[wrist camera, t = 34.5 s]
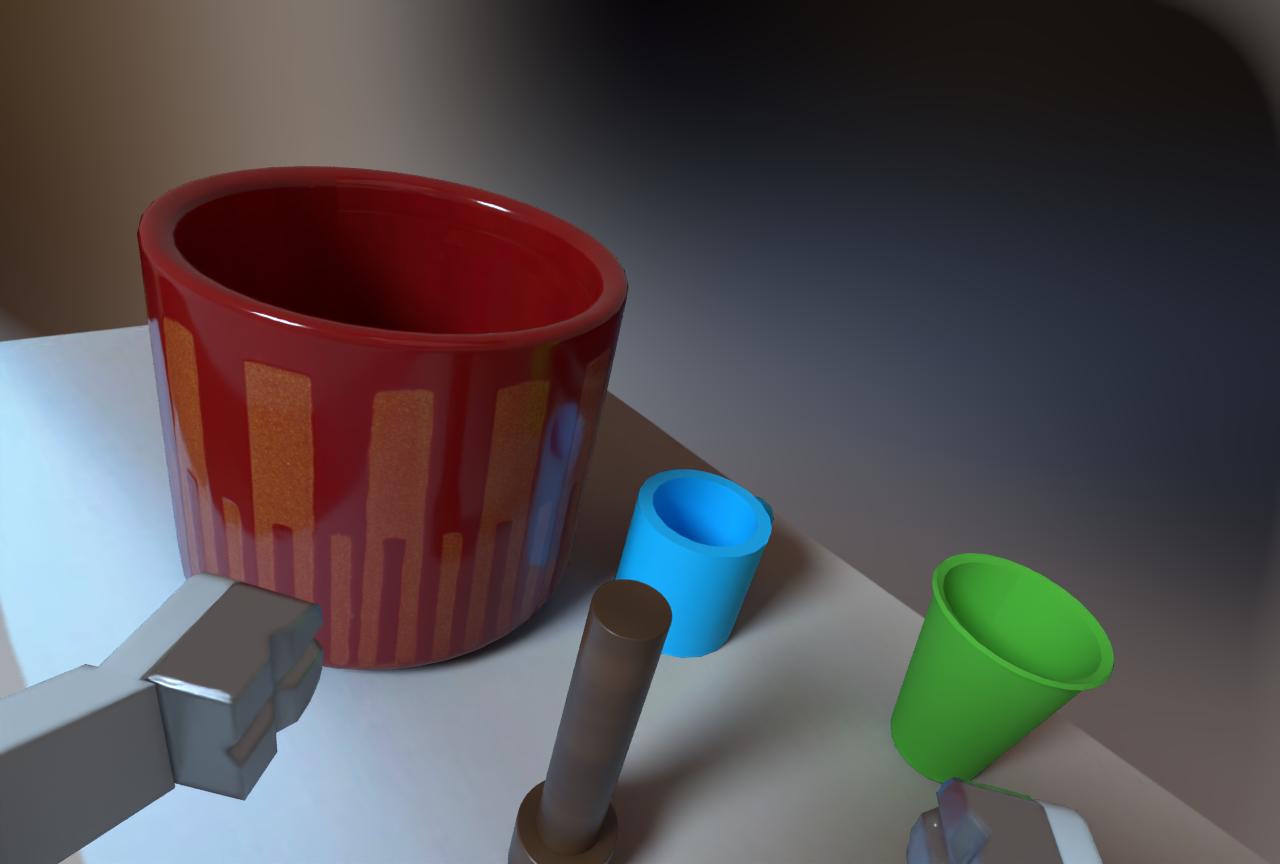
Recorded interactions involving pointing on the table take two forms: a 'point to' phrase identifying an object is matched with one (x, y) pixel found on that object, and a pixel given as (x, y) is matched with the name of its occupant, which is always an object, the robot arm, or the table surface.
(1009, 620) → the cup
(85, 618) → the table surface
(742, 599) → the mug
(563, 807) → the pestle
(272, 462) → the planter
